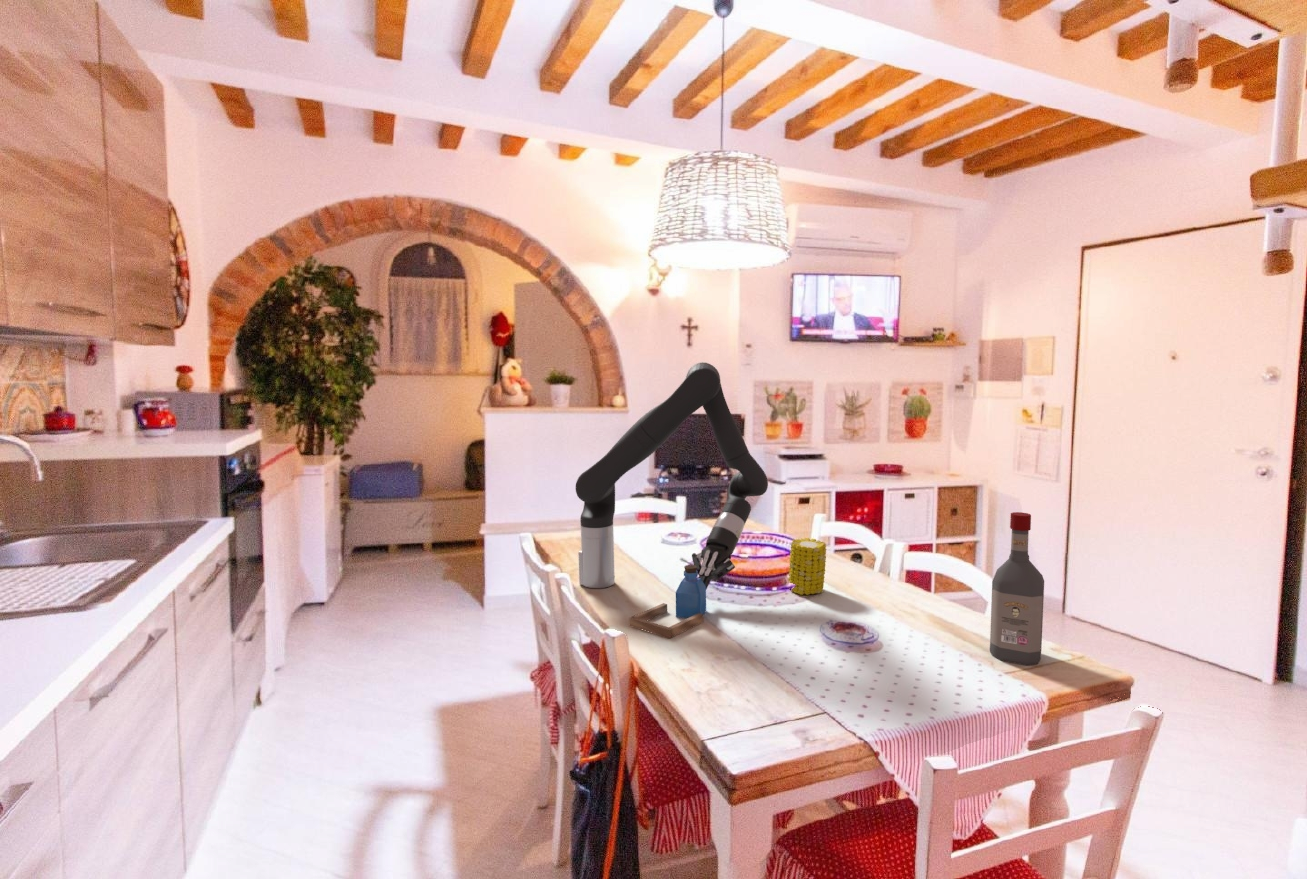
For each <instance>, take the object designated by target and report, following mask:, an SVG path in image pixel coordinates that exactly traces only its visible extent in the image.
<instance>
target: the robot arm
mask: <svg viewBox="0 0 1307 879" xmlns="http://www.w3.org/2000/svg"><path fill="white" fill-rule="evenodd" d="M701 407H702V408H703V410H704V412H705V414H706V416H707V418H708V421H709V423H710V426H711V430H712V433H713V436H714V439H715V441H716V442H715V443H716V445H717V446H718V449H719V452H720V453H721V455H722V458H723V460H724V462H725V464H726V466H727V467H728V468H729V469H732V470H736V471H738V472H736V473H735V474H734V475H733V476H732V477H731V479H730V480H729V484H728V488H727V489H728V491H727V495H726V496H727V497H726V502H725V504H724V505H723V508H722V510H721V512H720V514H719V515H718V517H717V518H716V520H715V523H714V525H713V526H712V529H711V531H710V533H709V535H708V537H707V538H706V541H705V542H706V543H705V547H703V548H702V549H701V552H699V553H695V552H694V553H692V554H691V559H692V563H693V564H692V565H695V566H697V571H698V576H697V578H701V580H702V581H703V583H704V584H705V586H706V590H707V589H708V587H709V585H710V582H711V581H713V580H716V581H717V580H718V581H719V580H720V579H721V578H722V577H725V576H727V574H728V573H730V572H731V571H733V570H734V569H735V568H736V565H735V564H734V563H733V561H731V558H732V555H733V554H734V551H735V549H736V548H737V545H738V542H739V540H740V538H741V536H742V533H743V531H744V526H745V525H746V523H747V520H748V518H749V516H750V513H751V510H752V507H751V504H750V502H748V501H747V500H746V499H747V497H759V496H762V495H764V494H765V493H766V492H767V491H768V486H769V481H768V476H767V474H766V472H765V471H764V469H763V468H762V467H761V465H759V463H758V462H757V461H756V459H755V458H754V456H752V455H751V453H750V451H749V448H748V447H747V445H746V442H745V440H744V437H743V436H742V435H743V434H742V433H741V431H740V429H739V427H738V425H737V423H736V421H735V419H734V417H733V415H732V413H731V411H730V408H729V406H728V404H727V400H726V397H725V395H724V391H723V387H722V384H721V375H720V372H719V371H718V369H717V368H716V367H715V366H714V365H712V364H711V363H708V362H702V361H701V362H697V363H695V364H694V365H692V366H691V367H690V368H689V369H688V371H687V373H686V376H685V378H684V380H683V381H682V382H681V384H680V385H678V387H677V388H676V389H675V390H674V391H673V392H672V394H671V395H670V396H668V398H666V400H664V401H663V402H661V403H659V404H658V405H656V406H655V407H653V408H652V409H650V410H648V412H646V413H645V414H644V415H643V416H642V417H640V418H639V419H638V420H637V421H636V422H635V423H634V424H633V425H632V426H630V428H629V429H628V430H627V431H625V433H624V434H623V435H622V436H621V437H620V438H619V439H618V441H617V442H615V444H614V445H613V446H612V448H610V450H609V451H608V452H607V453H606V454H605V455H604V456H603V457H602V458H601V459H599V460H598V461H597V462H596V463H594V464H593V465H592V466H590V467H589V468H588V469H586V470H585V471H583V472H582V473H581V474H580V475H579V476H578V478H577V480H576V481H575V494H576V495H577V498H579V500H580V501H582V502H584V503H583V504H584V505H583V510H582V512H581V515H580V543H581V544H580V546H581V547H580V548H581V549H580V550H579V552H578V579H579V580H578V582H579V583H578V584H579V585H580V586H583V587H585V588H589V589H604V588H608V587H611V586H613V585H615V577H616V576H615V548H614V547H615V545H614V544H615V543H614V542H615V541H614V540H615V538H614V537H615V536H614V516H615V511H616V483H617V482H618V481H619V480H620V478H622V477H623V476H624V475H625V474H627V472H629V471H630V470H632V469H634V468H635V467H636V466H638V465H639V464H641V463H642V462H643V461H644V460H647V458H649V457H650V456H651V455H652V454H653V453H655V451H657V450H658V449H659V448H660V447H661V446H662V445H664V443H665V442H666V441H667V440H668V439H669V438H670V437H671V436H672V435H673V434H674V433H675V432H676V431H677V430H678V429H679V427H680V426H681V425H682V423H684V422H685V421H686V420H687V419H688V418H689V417H690V416H691V415H693V414H694V413H695V412H697V410H699V409H700V408H701Z"/></svg>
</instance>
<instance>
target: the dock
mask: <svg viewBox="0 0 1307 879" xmlns="http://www.w3.org/2000/svg"><path fill="white" fill-rule="evenodd" d="M667 613H668V604H667V603H664V602H663V603H660V604H659V605H655V606H654V607H651V608H649V609H646V610H644V611H642V612H640V613H637V614H636V615H633V616H631V617H629V618H628V625H629V627H632V628H635V629H637V630H641V629H643V630H642V631H644V630H646V631H645V632H647V631H649V632H648V633H650V632H652V633H651V634H653V633H654V635H657V636H661V637H664V638H667V639H672V638H673V637H675V636H678V635H680V634H681V633H684V632H686V631H688V630H690V629H692V628H694V627H696V626H698V625H700V624H702V623H703V622H704V615H703V614H701V613H698V614H696V615H694V616H691V617H689V618H684V619H683V620H680V621H679V622H677V623H675V624H673V625H671V626H666V625H662V624H659V623H656V622H653V621H649V620H651V619H655V618H657V617H659V616H661V615H663V614H667ZM647 620H648V621H647ZM685 630H686V631H685Z"/></svg>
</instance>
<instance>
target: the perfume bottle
mask: <svg viewBox="0 0 1307 879" xmlns="http://www.w3.org/2000/svg"><path fill="white" fill-rule="evenodd" d="M683 577H684V578H683V579H682V580H681V581H680V583H679V585H678V587H677V589H676V590H675V617H676V618H684V619H687V618H689V617H691V616H694V615H696V614H698V613H701V614H703V616H704V615H705V613H706V612H707V589H706V586H705V584H704V583H703V581H702V580H701V578H698V577H699V575H698V571H697V566H695V565H694V564H687V565H684V571H683ZM705 611H706V612H705Z"/></svg>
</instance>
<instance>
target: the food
mask: <svg viewBox="0 0 1307 879" xmlns="http://www.w3.org/2000/svg"><path fill="white" fill-rule="evenodd" d="M789 550H790V551H789V552H790V553H789V556H790V557H789V565H790V566H789V567H788V569H789V571H788V576H789V577H788V579H787V580H788V582H789V581H790V583H793V584H795V585H796V587H794V588H793V589H792V590H790V591H791V592H792V593H793V592H794V594H798V595H800V596H803V595H806V596H809V595H810V594H811V595H814V594H822V593H823V591H824V583H825V574H826V562H827V561H826V559H827V556H826V555H827V545H826V542H825V541H821V540H817V539H816V538H811V539H810V538H809V537H807V538H806V537H805V538H795V539H792V541H791V543H790V549H789Z"/></svg>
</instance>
